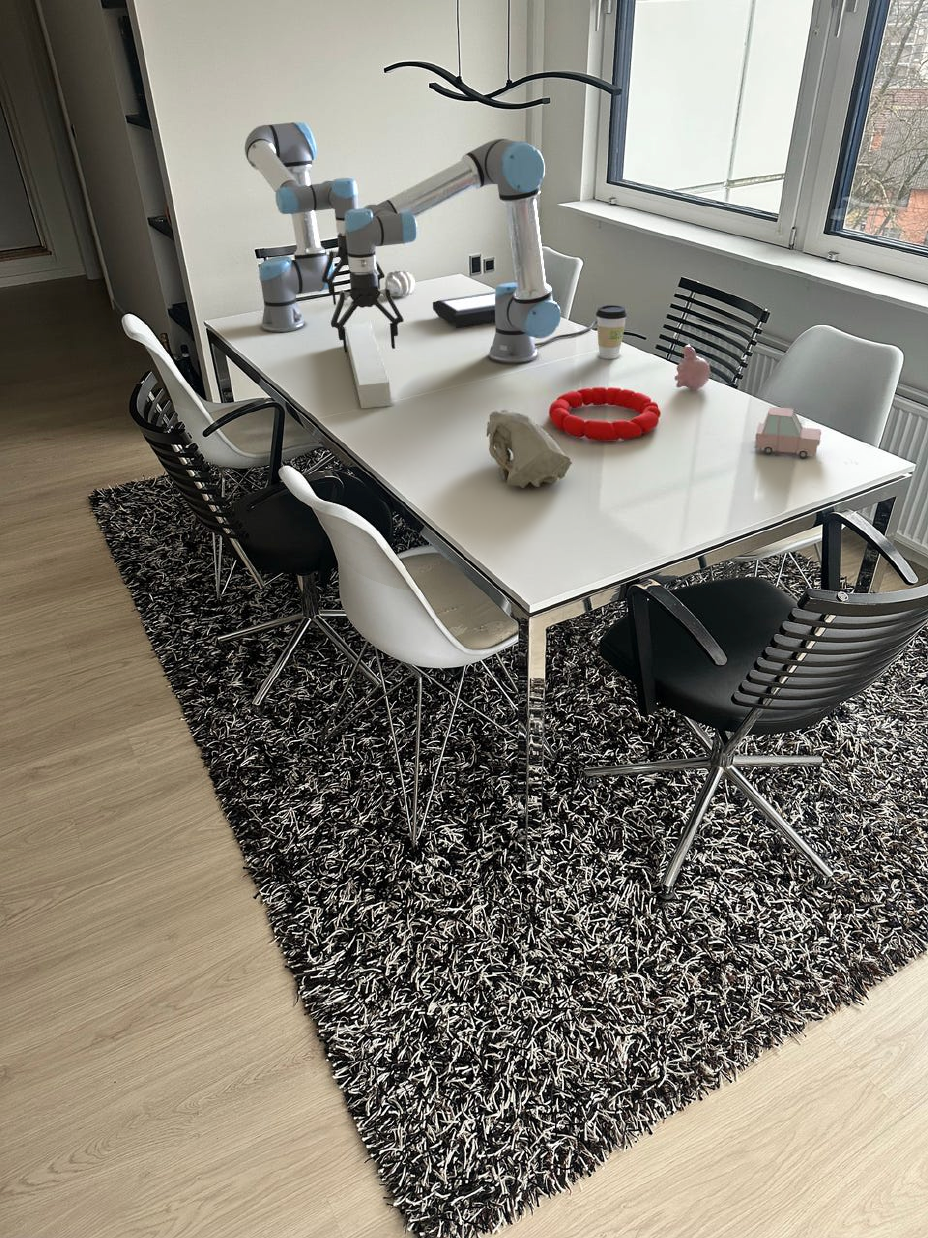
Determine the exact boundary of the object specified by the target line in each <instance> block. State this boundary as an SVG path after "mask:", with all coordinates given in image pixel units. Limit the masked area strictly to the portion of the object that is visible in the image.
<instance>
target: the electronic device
mask: <svg viewBox="0 0 928 1238" xmlns="http://www.w3.org/2000/svg"><path fill="white" fill-rule="evenodd" d="M494 297H495V291H493V292H485V293H479V294H472V295H465V296H459V297H451V298H445V299H439V300H436V301H433V302H432V310H433V311H434V313H435V314H436V316H437V317H438V318H439V319H441V320H442V321H444V322H446V323H447V324H449V325H451V326H452V327H454V328H455V329H456V330H459V329H467V328H473V327H479V326H484V325H485V326H486V325H491V324H495V298H494Z"/></svg>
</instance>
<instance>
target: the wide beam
mask: <svg viewBox="0 0 928 1238" xmlns="http://www.w3.org/2000/svg"><path fill="white" fill-rule="evenodd" d="M344 327H345V334H346V344H347V353H348V356H349V359H350V364H351V368H352V373H353V378H354V382H355V386H356V391H357V395H358V400H359V403H360V408H361V409H372V408H382V407H391V406H392V401H391V400H392V399H391V388H390V387H391V386H390V380H389V377H388V374H387V372H386V368H385V364H384V361H383V358H382V356H381V352H380V349H379V346H378V342H377V340H376V337H375V334H374V330H373V327H372V324H371V322H365V323H364V322H363V323H352V324H345V325H344Z"/></svg>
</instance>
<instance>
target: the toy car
mask: <svg viewBox="0 0 928 1238" xmlns="http://www.w3.org/2000/svg"><path fill="white" fill-rule="evenodd" d="M821 435H822V430H821V428H812V427H811V428H810V427H803V426H802V422H801V421H800V419H799V418H798V415H797V413H796V411H795V410H794V408H789V407H788V408H787V407H779V406H778V407H777V406H770V407H769V410H768V412H767V414H766V417H765V420H764V422H759V423H758V424H757V428H756V432H755V441H754V446H753V449H756V450H761V451H763V452H764V453H765V454H766V455H771V454H772V453H773V452H783V453H792V454H796V455H798V456H799V458H800V459H805V458H807V456H816V454H817V450H818V446H820V445H821V444H820V443H821Z"/></svg>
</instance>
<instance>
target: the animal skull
mask: <svg viewBox="0 0 928 1238" xmlns="http://www.w3.org/2000/svg"><path fill="white" fill-rule="evenodd" d="M486 425H487V427H486V435H485V436H486V438H487V437H489V438H488V440H489V444H488V445H489V446H488V450H489V454H490V456H491V457H492V458H493V459H494V460H495V462H496V464H497V466H499V468H500V470H501V471H502V472H501V478H502V479H507V480H506V484H507V486H517V487H518V486H519V488H523V489H524V488H526V486H527V485H529V483H531V485H533V486H534V487H536V488H540V485H541V484H542V482H544V483H549V484H550V485H553V484H555V483H556V482H557V480H561V479H563V478H565V476H566V474H567V472H568V471H569V469H570V467H571V466H572V464H573V462H572V461H571V458H570V457H568V456H567V455H565V453H564V451H562V449H561V448H560V446H559V444H557V443H556V439H555V438H554V436H553V435H551V434H550V433H548V432H547V431H546V430H545V429H544V428H542V427H541V426H539V425H538V424H537V423H536V424H535V422H534V421H533V419H532V418H531V417H530V416H529V415H527V414H524V413H519V412H515V411H509V410H507V409H502V410H500V411H499V410H495V411H492V412H491V414H489V421H487V423H486ZM511 453H512V454H511ZM511 455H512V457H513V458H512V460H511ZM507 474H508V475H507Z"/></svg>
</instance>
